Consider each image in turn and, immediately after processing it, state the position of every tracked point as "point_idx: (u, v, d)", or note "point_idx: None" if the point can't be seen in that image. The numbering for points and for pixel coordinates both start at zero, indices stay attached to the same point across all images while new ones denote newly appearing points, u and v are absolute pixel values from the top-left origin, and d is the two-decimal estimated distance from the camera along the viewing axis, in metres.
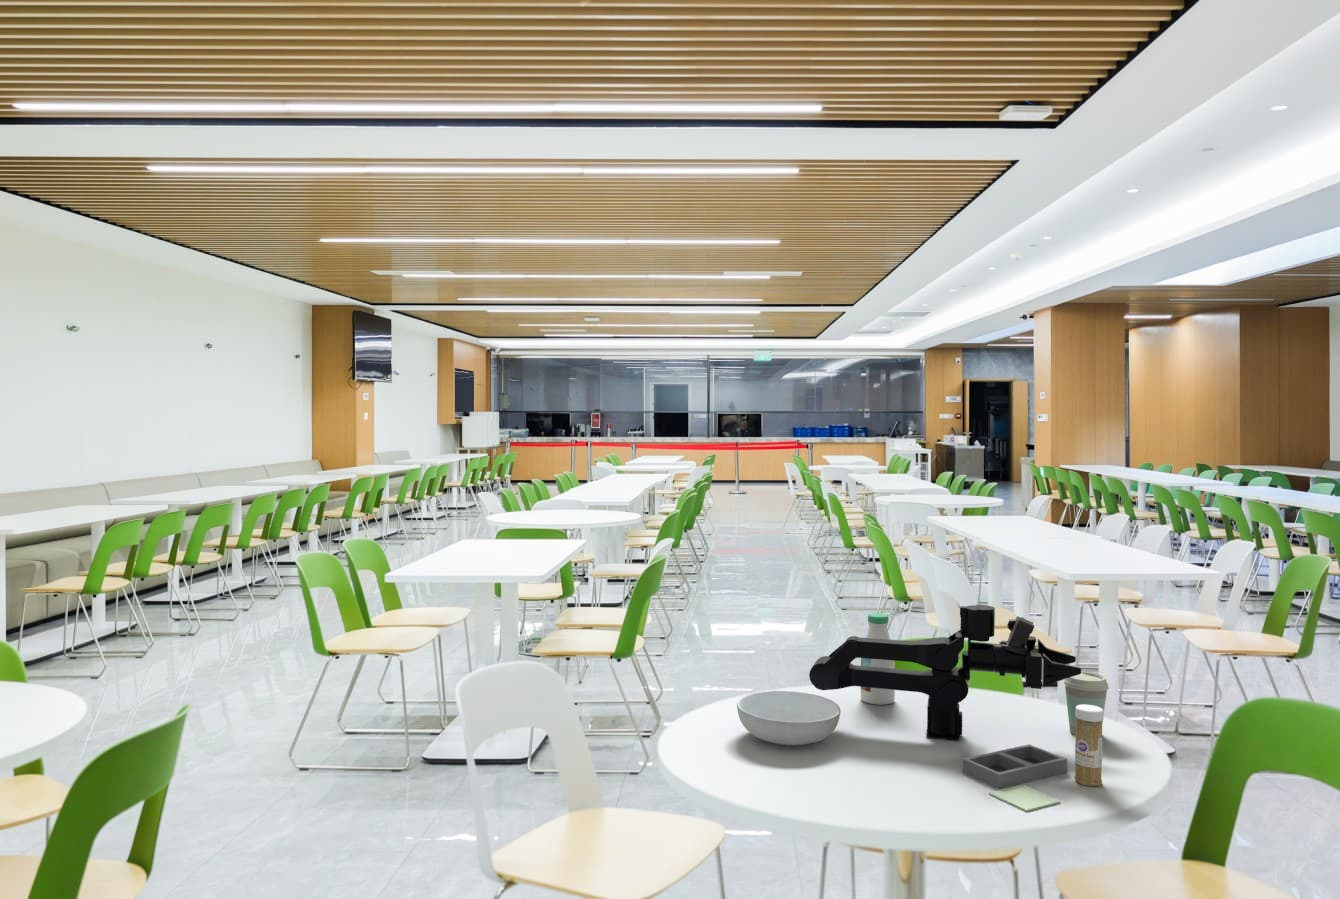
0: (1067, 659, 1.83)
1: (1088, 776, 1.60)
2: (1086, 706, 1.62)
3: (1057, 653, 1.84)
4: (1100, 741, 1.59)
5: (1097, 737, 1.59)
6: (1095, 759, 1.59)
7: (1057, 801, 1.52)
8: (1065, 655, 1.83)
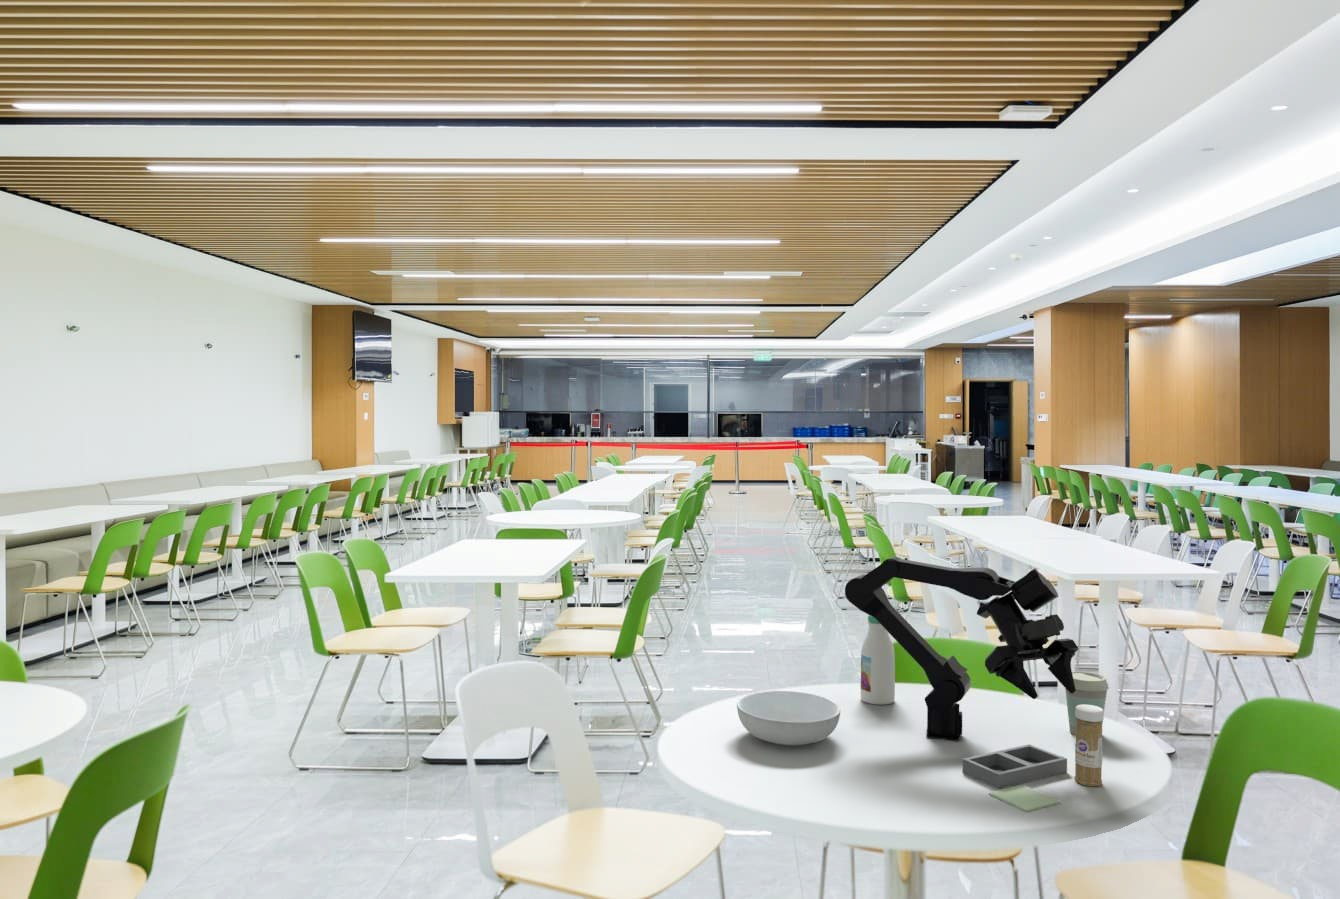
0: (1068, 685, 1.71)
1: (1088, 776, 1.60)
2: (1086, 706, 1.62)
3: (1066, 674, 1.72)
4: (1100, 741, 1.59)
5: (1097, 737, 1.59)
6: (1095, 759, 1.59)
7: (1057, 801, 1.52)
8: (1069, 681, 1.71)
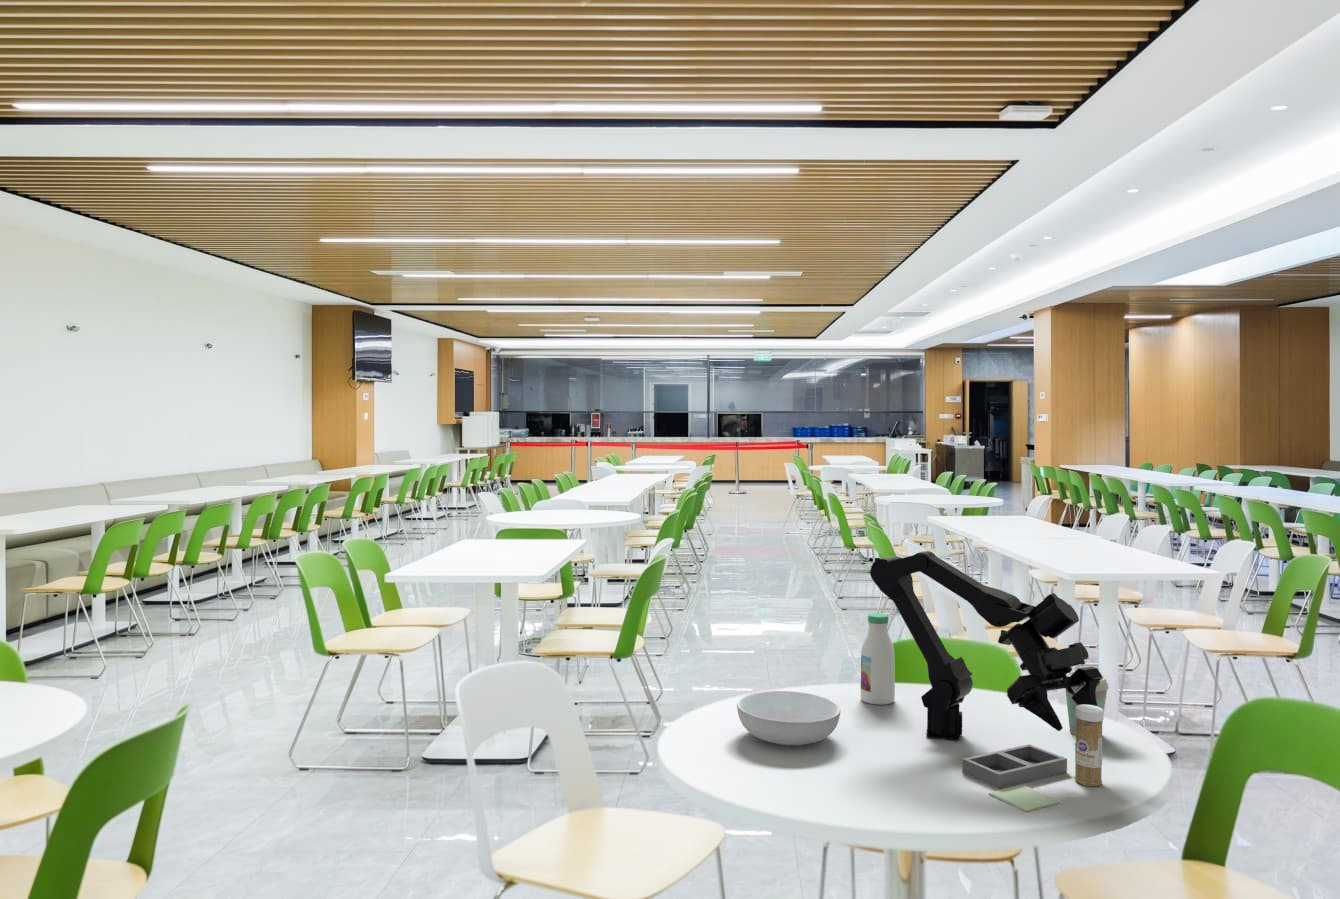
0: None
1: (1088, 776, 1.60)
2: (1086, 706, 1.62)
3: (1091, 704, 1.67)
4: (1100, 741, 1.59)
5: (1097, 737, 1.59)
6: (1095, 759, 1.59)
7: (1057, 801, 1.52)
8: None
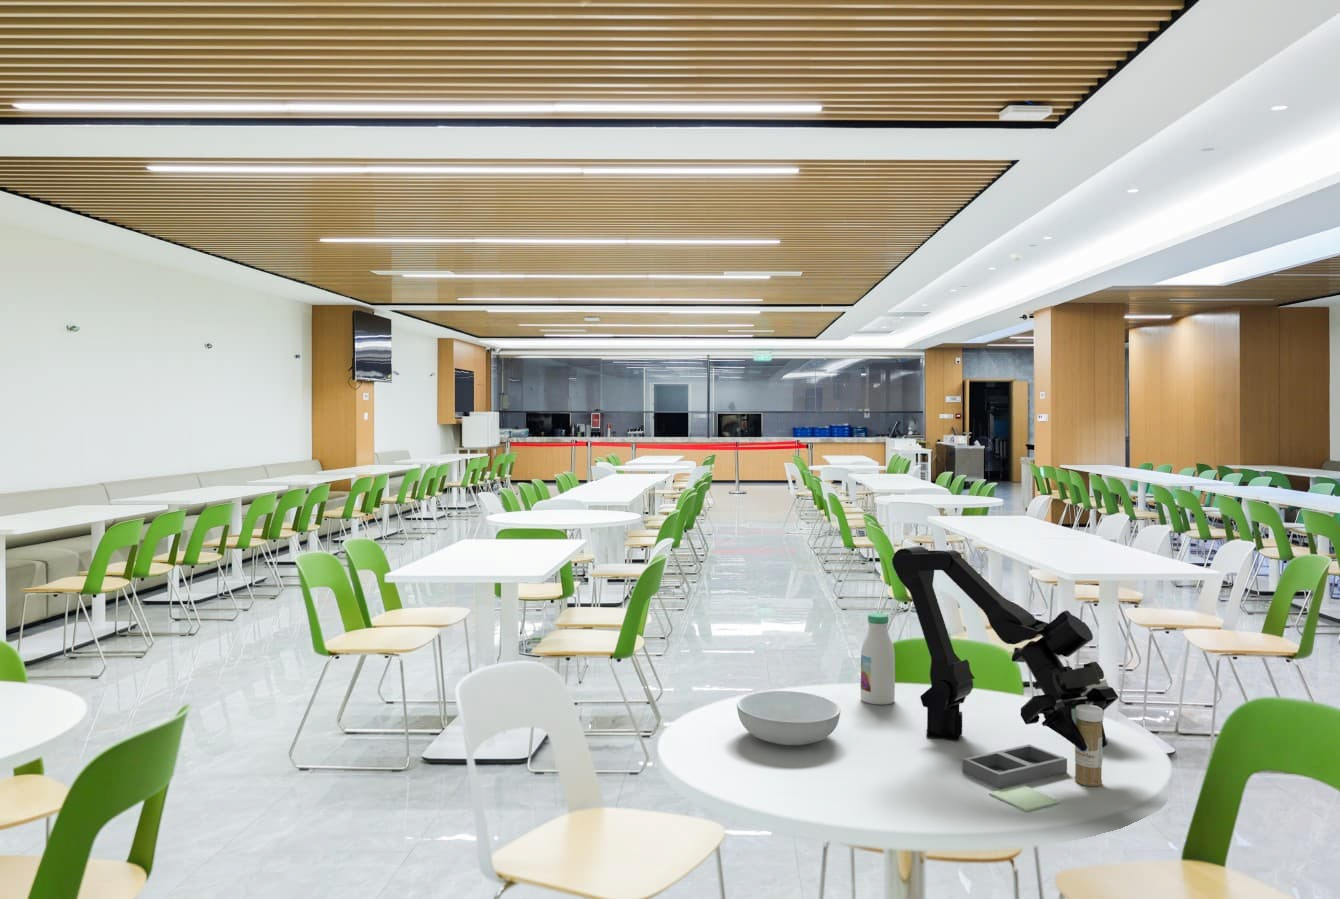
0: None
1: (1088, 776, 1.59)
2: (1086, 706, 1.62)
3: None
4: (1100, 741, 1.59)
5: (1097, 737, 1.59)
6: (1095, 759, 1.59)
7: (1057, 801, 1.52)
8: None
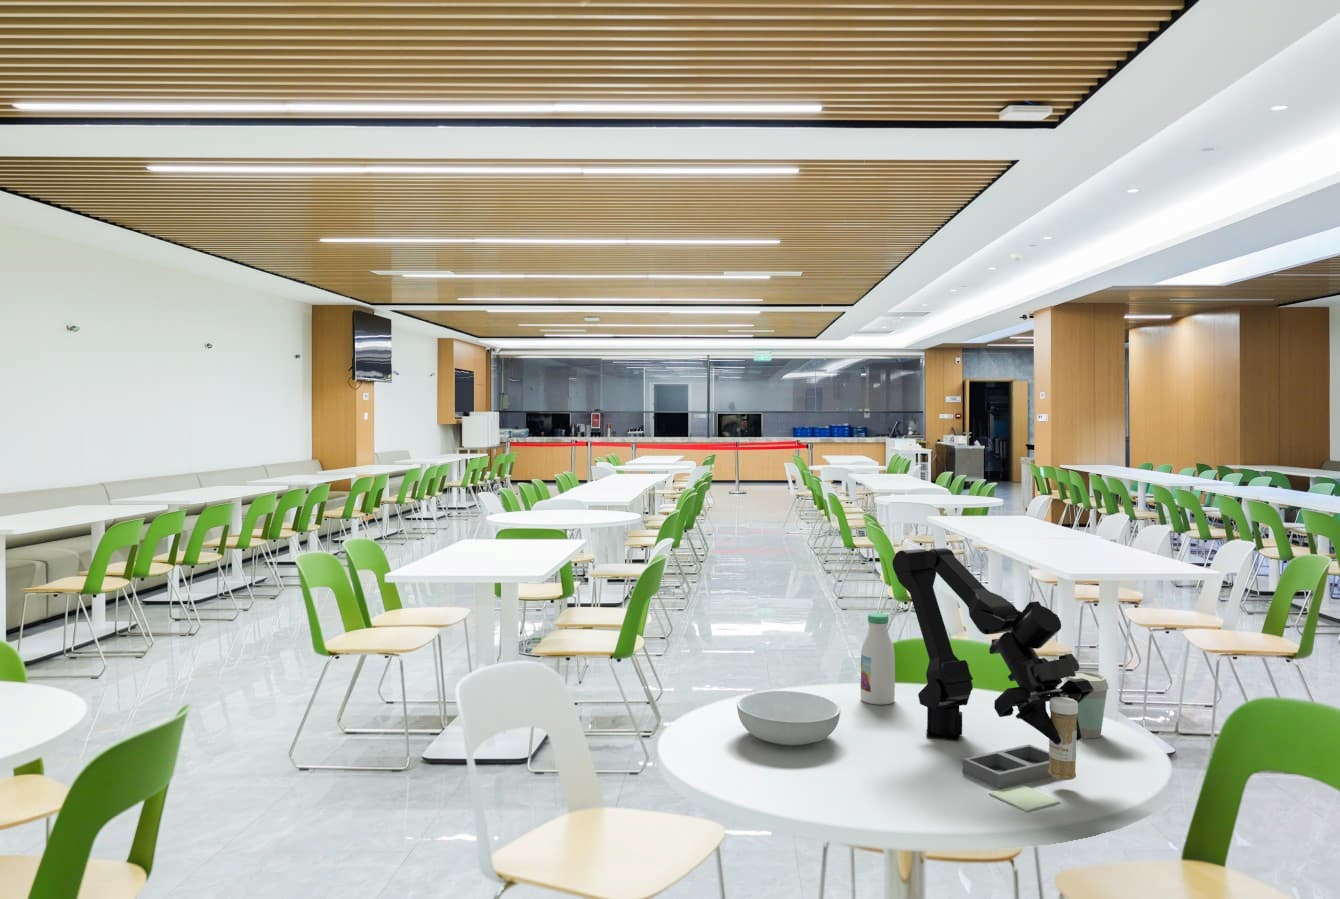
0: None
1: (1062, 769, 1.57)
2: (1061, 699, 1.59)
3: None
4: (1074, 734, 1.57)
5: (1071, 730, 1.56)
6: (1069, 752, 1.56)
7: (1057, 801, 1.52)
8: None
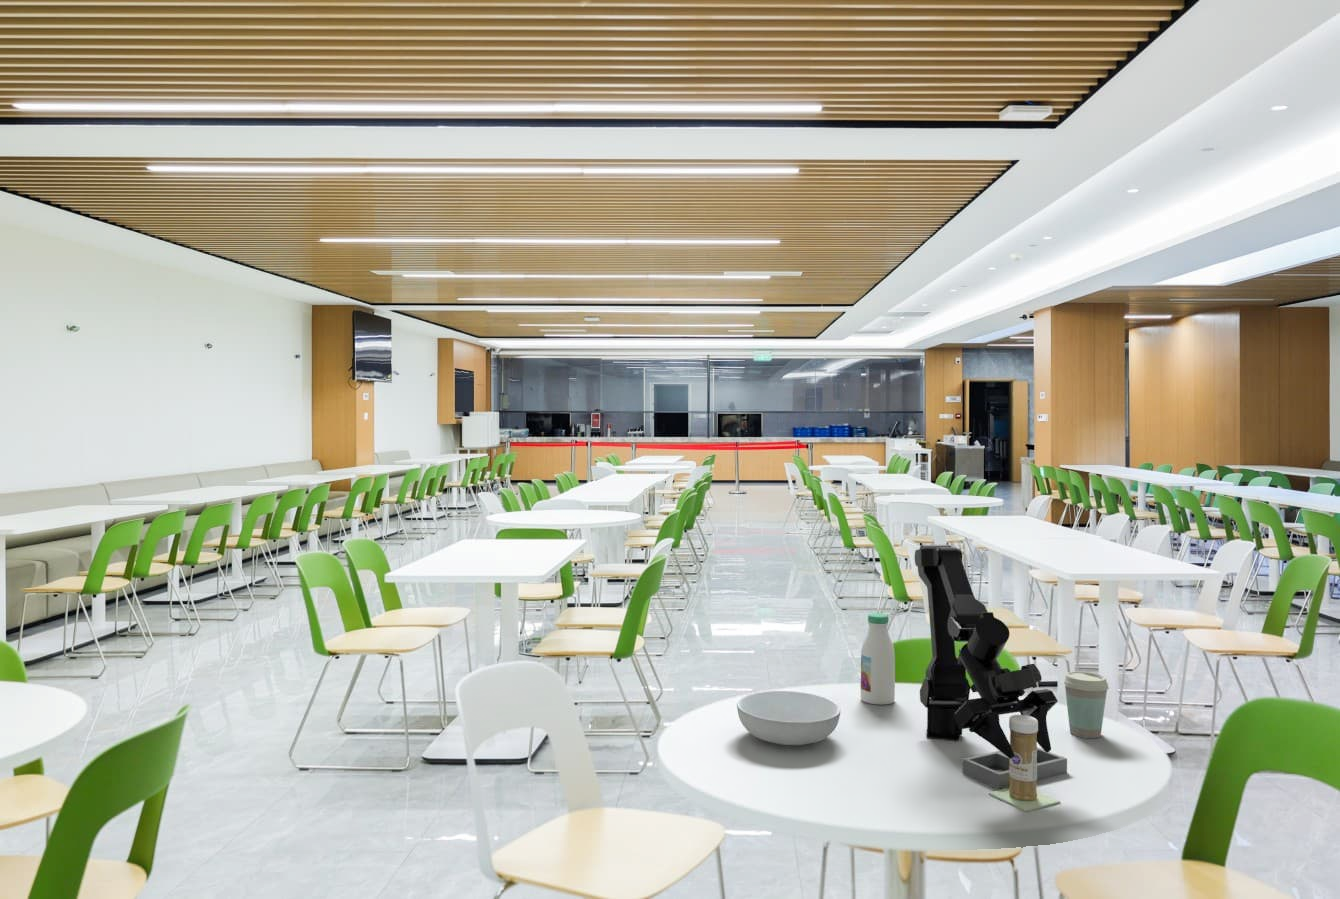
0: (1042, 743, 1.55)
1: (1022, 790, 1.52)
2: (1020, 717, 1.54)
3: (1041, 730, 1.56)
4: (1034, 753, 1.52)
5: (1031, 750, 1.52)
6: (1028, 772, 1.52)
7: (1057, 801, 1.52)
8: (1044, 739, 1.55)
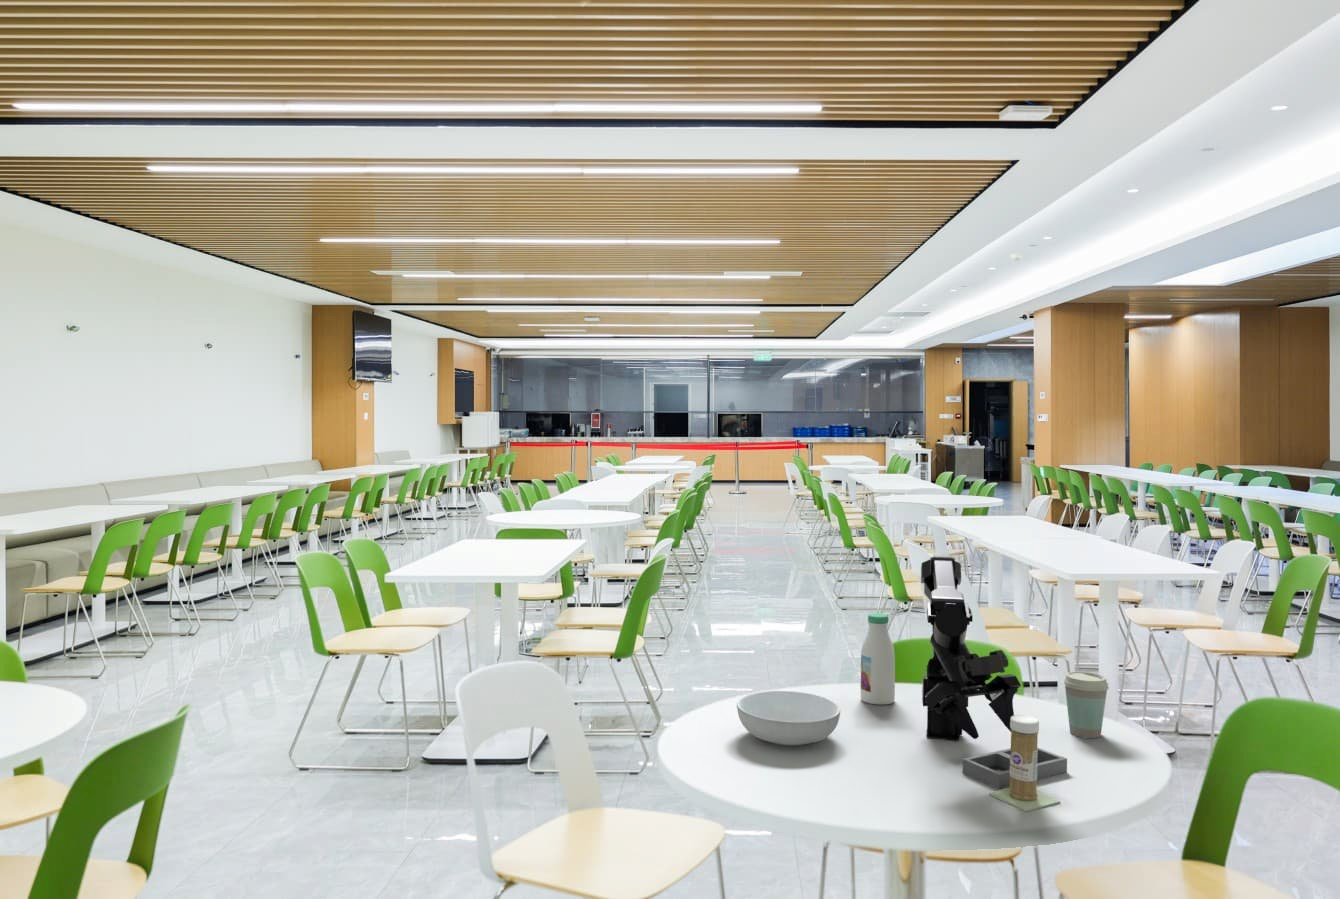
0: (1009, 724, 1.65)
1: (1022, 790, 1.52)
2: (1021, 717, 1.54)
3: (1008, 712, 1.65)
4: (1034, 754, 1.52)
5: (1031, 750, 1.52)
6: (1029, 772, 1.52)
7: (1057, 801, 1.52)
8: None
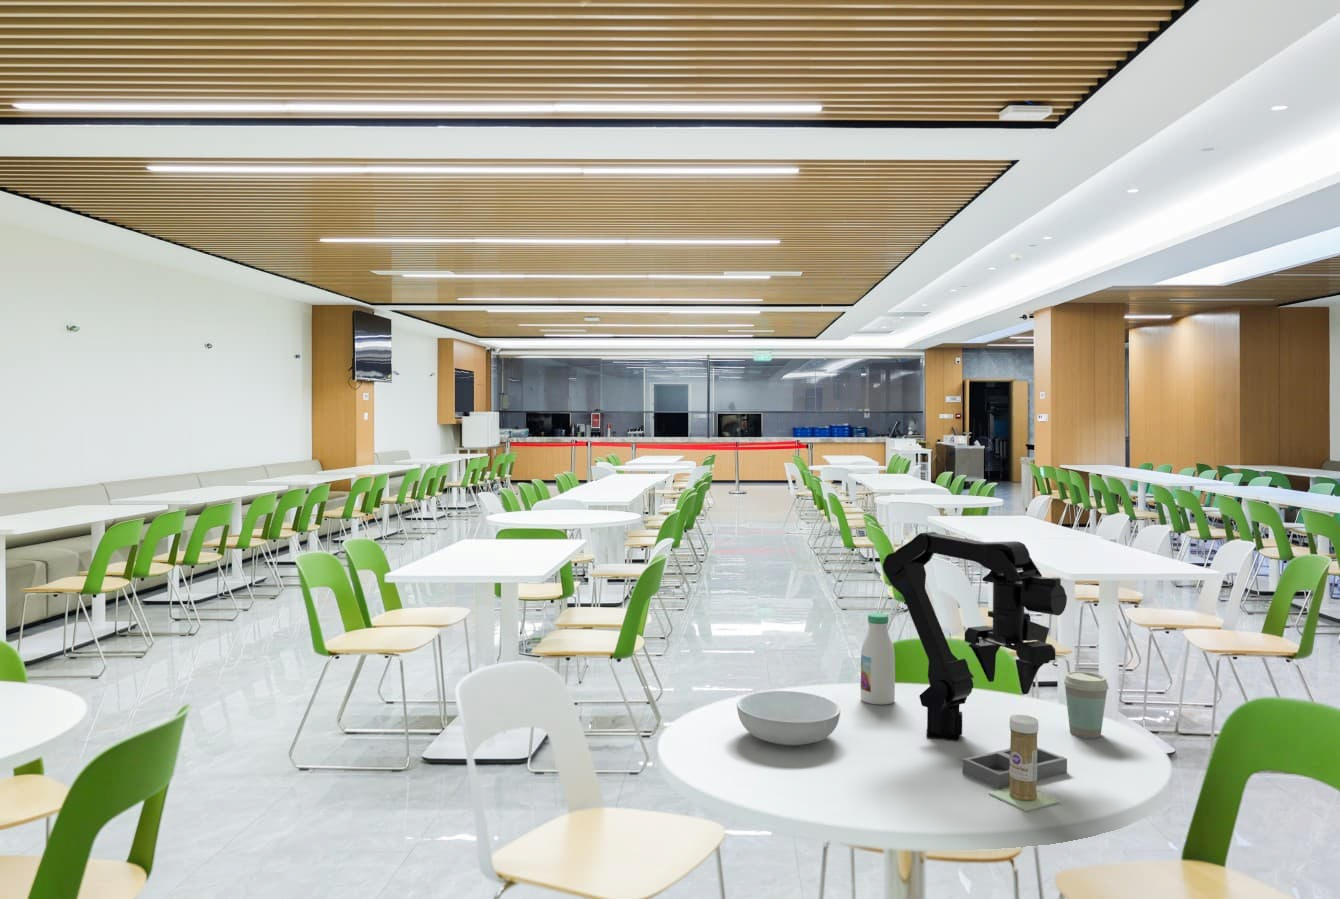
0: (991, 673, 1.79)
1: (1022, 790, 1.52)
2: (1021, 717, 1.54)
3: (994, 664, 1.80)
4: (1034, 753, 1.52)
5: (1031, 749, 1.52)
6: (1029, 772, 1.52)
7: (1057, 801, 1.52)
8: (994, 671, 1.79)
